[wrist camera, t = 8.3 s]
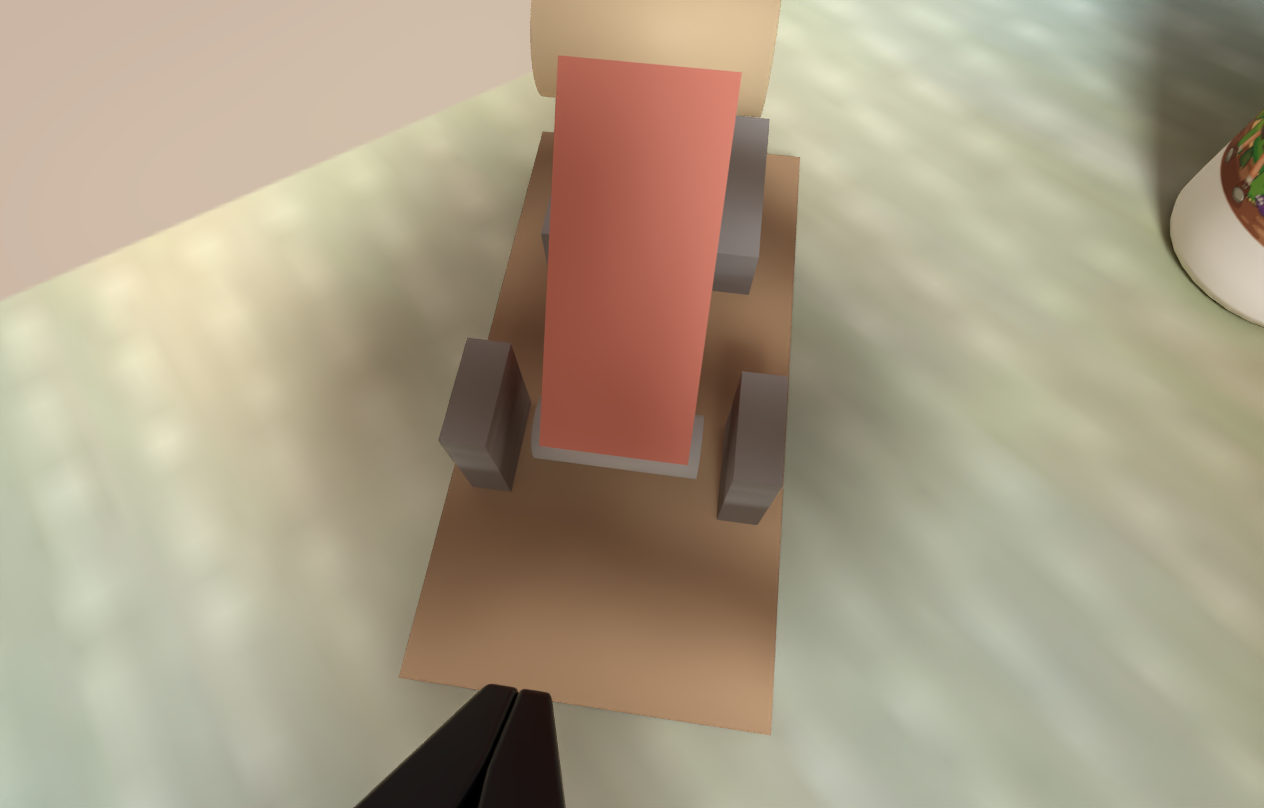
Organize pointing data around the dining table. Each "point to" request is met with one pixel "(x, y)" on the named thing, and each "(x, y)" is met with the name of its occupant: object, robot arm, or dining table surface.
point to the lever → (637, 215)
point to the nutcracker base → (623, 497)
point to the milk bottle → (1226, 225)
